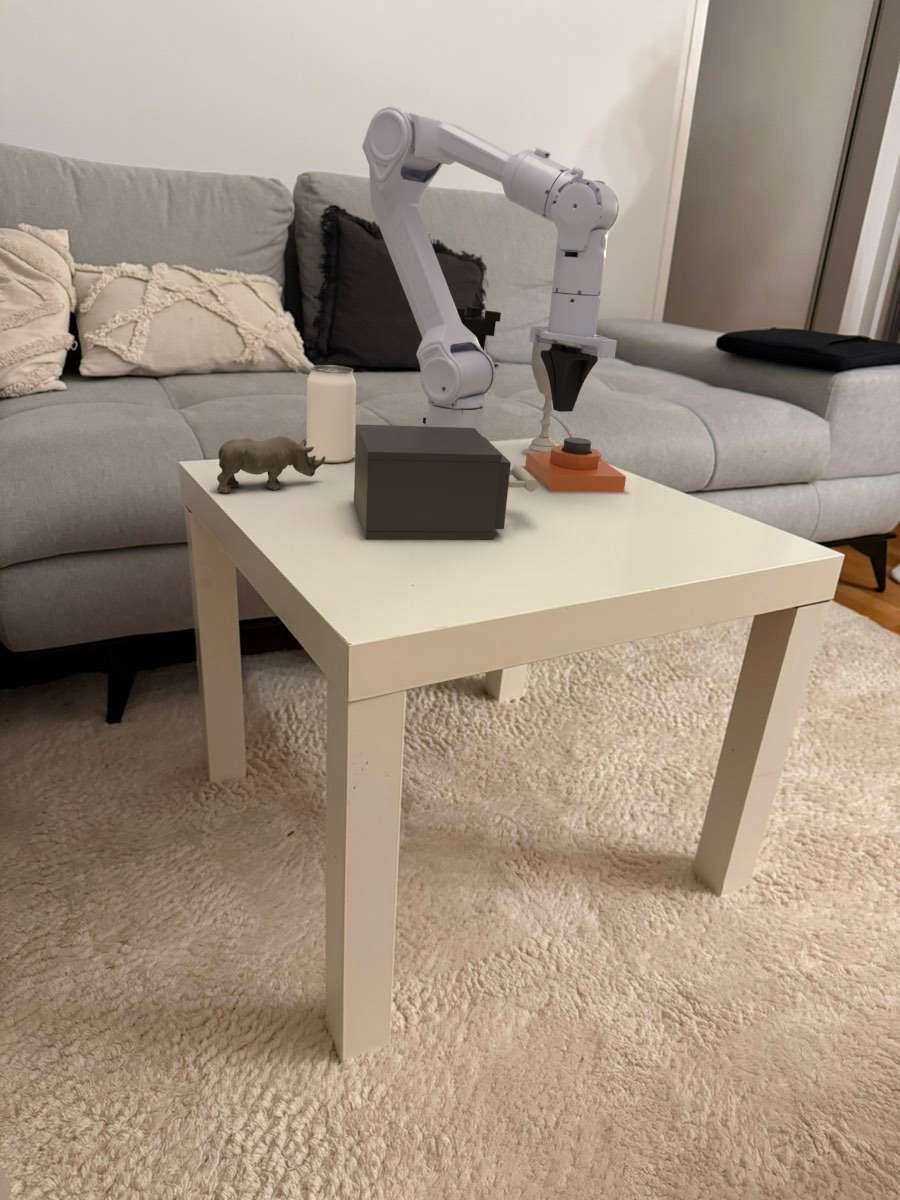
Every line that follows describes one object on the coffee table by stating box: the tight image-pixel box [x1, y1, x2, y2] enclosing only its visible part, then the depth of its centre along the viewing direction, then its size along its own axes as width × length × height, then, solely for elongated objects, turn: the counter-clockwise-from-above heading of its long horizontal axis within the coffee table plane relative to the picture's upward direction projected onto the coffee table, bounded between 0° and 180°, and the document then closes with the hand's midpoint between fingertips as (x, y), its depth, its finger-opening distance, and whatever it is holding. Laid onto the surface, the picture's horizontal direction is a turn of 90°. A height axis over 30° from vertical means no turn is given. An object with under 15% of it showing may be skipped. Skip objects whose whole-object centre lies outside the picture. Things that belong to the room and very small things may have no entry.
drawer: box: [483, 436, 539, 530], centre depth 93 cm, size 17×11×7 cm
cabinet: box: [353, 423, 502, 540], centre depth 92 cm, size 14×13×9 cm
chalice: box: [525, 341, 576, 454], centre depth 124 cm, size 7×7×18 cm
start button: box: [562, 436, 592, 455], centre depth 114 cm, size 4×4×2 cm
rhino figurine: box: [216, 436, 325, 494], centre depth 101 cm, size 4×14×6 cm, turn 121°
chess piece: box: [422, 306, 502, 425], centre depth 122 cm, size 8×8×20 cm
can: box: [306, 364, 357, 464], centre depth 114 cm, size 6×6×12 cm
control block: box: [524, 444, 627, 493], centre depth 115 cm, size 12×10×4 cm
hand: (562, 410), depth 105 cm, fingers closed
